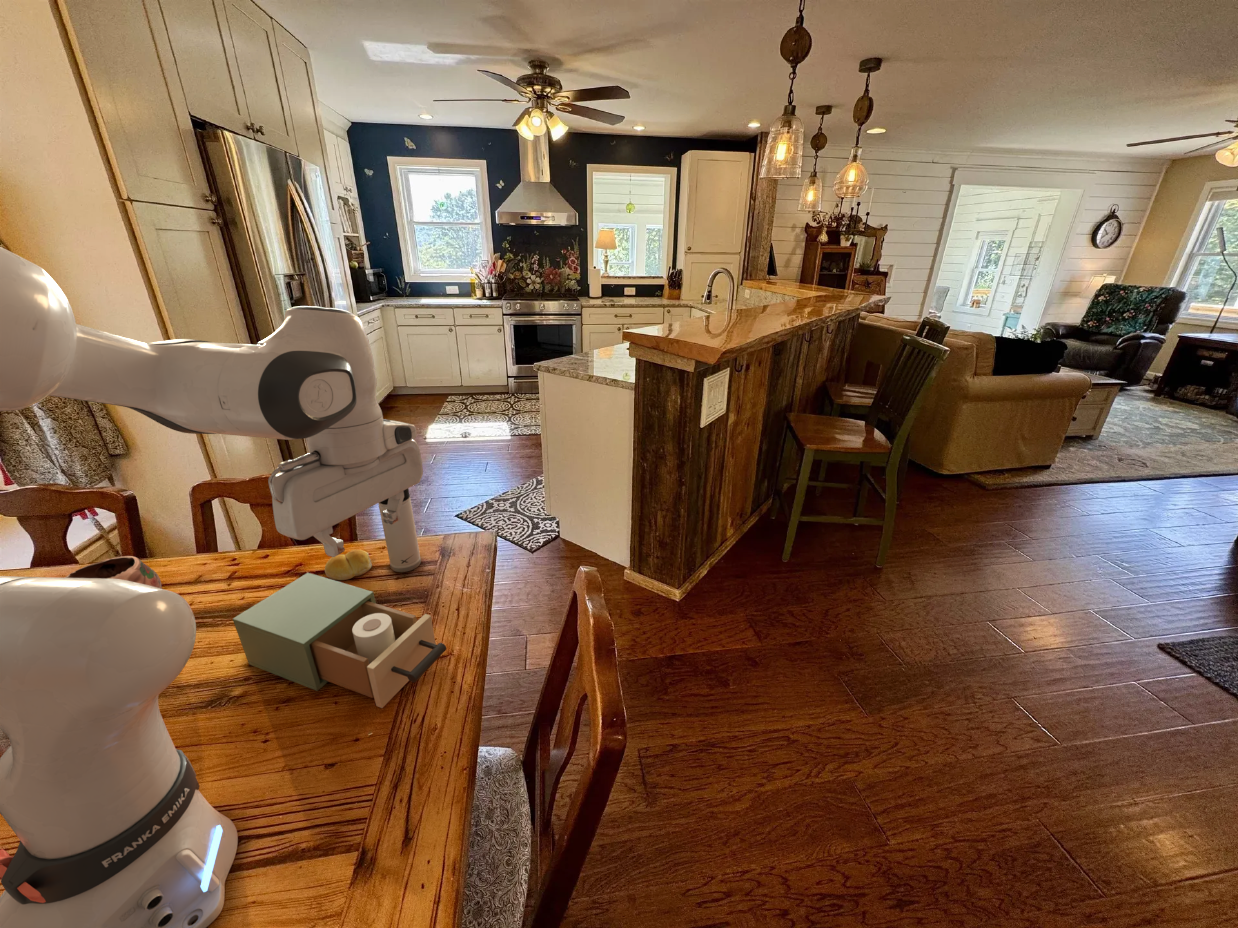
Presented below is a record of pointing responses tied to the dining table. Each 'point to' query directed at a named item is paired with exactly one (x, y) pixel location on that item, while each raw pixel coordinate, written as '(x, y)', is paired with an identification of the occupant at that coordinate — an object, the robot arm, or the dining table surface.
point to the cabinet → (296, 625)
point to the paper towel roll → (373, 635)
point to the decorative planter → (120, 571)
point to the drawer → (389, 668)
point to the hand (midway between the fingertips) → (365, 536)
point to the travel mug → (401, 537)
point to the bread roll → (348, 565)
